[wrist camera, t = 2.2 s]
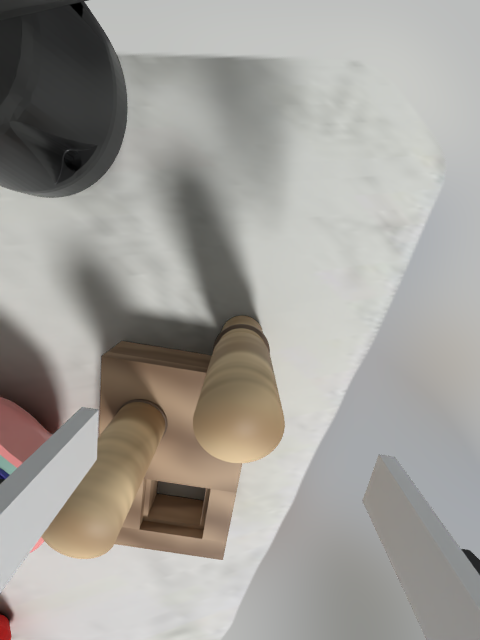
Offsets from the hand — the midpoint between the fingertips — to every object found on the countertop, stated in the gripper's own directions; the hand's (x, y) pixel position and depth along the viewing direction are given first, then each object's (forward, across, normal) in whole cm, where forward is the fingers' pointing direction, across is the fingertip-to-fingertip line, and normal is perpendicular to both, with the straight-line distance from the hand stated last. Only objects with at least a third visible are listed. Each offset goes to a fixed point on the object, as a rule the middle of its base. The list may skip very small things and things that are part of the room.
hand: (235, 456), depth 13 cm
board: (+15, -5, -13) cm, 20 cm away
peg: (+15, 0, +1) cm, 15 cm away
